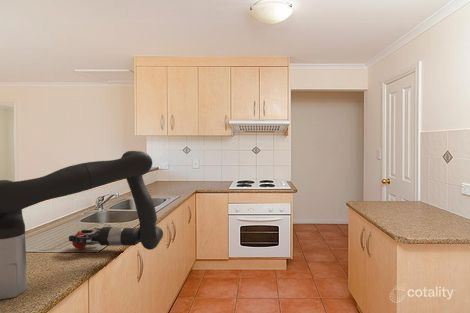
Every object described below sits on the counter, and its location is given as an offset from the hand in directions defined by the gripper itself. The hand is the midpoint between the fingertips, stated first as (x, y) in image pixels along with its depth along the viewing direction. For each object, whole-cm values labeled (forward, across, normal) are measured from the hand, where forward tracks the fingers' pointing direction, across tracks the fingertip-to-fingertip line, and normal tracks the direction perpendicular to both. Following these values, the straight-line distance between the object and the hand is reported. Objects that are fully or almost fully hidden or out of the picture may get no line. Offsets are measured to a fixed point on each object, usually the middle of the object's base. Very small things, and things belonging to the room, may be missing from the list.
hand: (75, 235), depth 133 cm
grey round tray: (-2, -12, +6) cm, 14 cm away
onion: (-2, 0, +6) cm, 6 cm away
